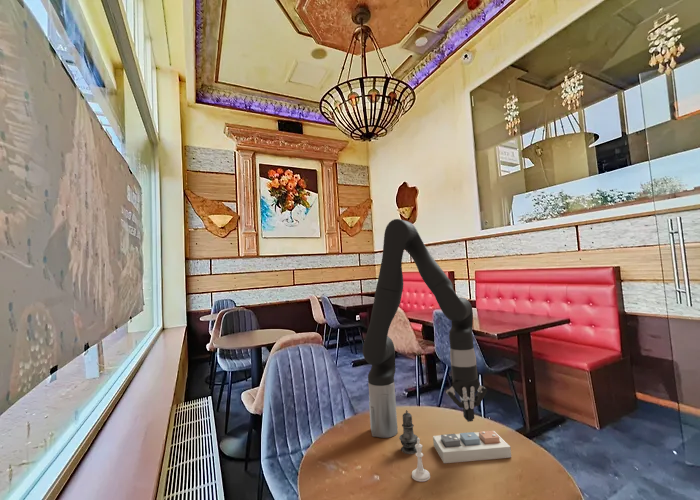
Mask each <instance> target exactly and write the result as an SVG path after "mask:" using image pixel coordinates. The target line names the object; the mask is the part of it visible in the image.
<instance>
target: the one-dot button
mask: <svg viewBox="0 0 700 500" xmlns="http://www.w3.org/2000/svg"><path fill="white" fill-rule="evenodd" d="M459 434H460V440H461V441H462V442H463V444H464V445H465V446H470V445H480V439H479V437H478V436H477V435H476V434H475V431H473V432H472V431H471V432H460V433H459Z"/></svg>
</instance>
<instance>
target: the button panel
mask: <svg viewBox="0 0 700 500" xmlns="http://www.w3.org/2000/svg"><path fill="white" fill-rule="evenodd" d="M492 431H493V432H494V433H495V434H497V435H498V436H499V439H500V443H494V444H484V443H483V442H482V440H481V439H480V438H479V439H480V445H470V446H465V445H464V444H463V442H462V441H461V440H460V433H454V434H455V435H456V436H457V437H458V439H459V440H460V446H458V447H447V448H445V446H444V445H443V443H442V442H441V435H442V434H440V435H433V436H432V441H433V448H434V449H435V451H436V453H437V454H438V456H439V458H440V459H441V461H442V463H443V464H450V463H462V462H463V463H464V462H472V461H473V462H475V461H484V460H496V459H497V460H498V459H507V458H508V459H509V458H512V450H511V445H510V444H509V443H508V442H506V441H505V440H504V439H503V438H502V436H500V435H499V434H498V433H497V432H496V431H495V430H492ZM479 432H480V431H478V432H475V431H474V433H475V434H476V435H477V436H478V437H479Z"/></svg>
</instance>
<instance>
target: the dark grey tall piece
mask: <svg viewBox="0 0 700 500" xmlns="http://www.w3.org/2000/svg"><path fill="white" fill-rule="evenodd" d="M401 427H402V429H403V430H402V432H403V434H401V435H400V436H399V441H400V444H401V445H402V446H401V448H400V450H401V452H402V453H403V454H406V455H413V454H416V453H417V450H416V448H415V445H416V444H417V438H419V437H418V436H417V435H416V434H414V424H413V416H412V414H411V413H409V411H408V410H405V412H404V413H403V414H402V424H401Z"/></svg>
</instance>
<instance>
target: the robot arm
mask: <svg viewBox="0 0 700 500" xmlns="http://www.w3.org/2000/svg"><path fill="white" fill-rule="evenodd" d="M404 251H406V252H407V253H408V255H410V257H411V259H412V260H413V262H414V263H415V266H416V268H417V270H418V273H419V276H421V279H422V281H423V282H424V284H425V285H426V287H427V288H428V289H429V291H431V294H433V296H434V297H435V300H436V302H437V305H438V306H439V308H440V310H441V312H442V313H443V314H444V316H445V317H446V318H447V319H448V320H449V321H450V322H451V329H450V330H449V335H448V337H449V338H448V339H449V345H450V346H449V347H450V350H449V351H450V352H449V354H450V355H449V356H450V367H451V377H452V379H451V380H452V381H451V387H449V389H448V388H447V389H445V393H446V395H447V396H448V397H449V398H450V399H451V401H452V402H453V403H454V404H455V405H457V406H458V408H460V409H462V413H463V418H464V419H465V420H466V421H467V422H468V423H470V422H473V421H474V419H475V407H479V406H481V405H480V404H481V403H482V401H483V400H484V398H485V397H486V395H487V393H488V389H487V388H486V387H485V386H484V385H481V384H480V381H479V380H478V379H479V378H478V377H479V375H478V367H477V357H476V352H475V347H474V346H475V345H474V337H473V321H474V317H473V316H474V315H473V306H472V304H471V302H470V301H469V300H468V299H466V298H464V297H461V296H460V297H459V296H458V295H457V293H456V292H455V290H454V284H453V283H452V281H451V279H450V278H449V277H448V276H447V274H446V273H445V272H444V270H443V268H442V267H440V265H439V263H438V262H437V261H436V259H434V257H433V256H432V254H431V253H430V251H429V250H428V248H427V246H426V244H425V242H424V241H423V239H422V237H421V235H420V234H419V232H418V229H417V228H416V227H415V224H413V223H412V222H410V221H408V220H404V219H401V218H395V219H392V220H390V222H389V223H388V224H387V225H386V227H385V230H384V236H383V245H382V257H381V258H382V259H381V263H380V268H379V271H378V272H379V273H378V278H377V282H376V288H375V292H374V299H373V303H372V305H373V306H372V309H371V315H370V321H369V325H368V329H367V332H366V334H365V339H364V342H363V345H362V355H363V358H364V360H365V361H366V362H367V364H368V365H371V368H370V370H369V372H368V375H367V380H368V381H367V382H368V383H367V384H368V396H369V398H368V400H369V401H368V408H369V410H368V411H369V425H370V431H371V437H377V438H382V439H383V438H384V439H385V438H386V439H387V438H391V437H394V436H396V435H397V434H398V433H399V431H398V430H399V429H398V418H397V417H398V416H397V414H398V413H397V404H396V403H397V402H396V388H395V373H396V349H395V344H394V342H393V340H392V338H391V337H390V336H388V334H389V330H390V326H391V323H392V322H393V319H394V318H395V316H396V315H397V312H398V310H399V307H400V304H401V300H402V296H403V291H404V275H403V269H402V268H403V267H402V262H403V255H404ZM456 393H457V395H458V396H459V399H460V400H459V399H458V398H457V397H456Z"/></svg>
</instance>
